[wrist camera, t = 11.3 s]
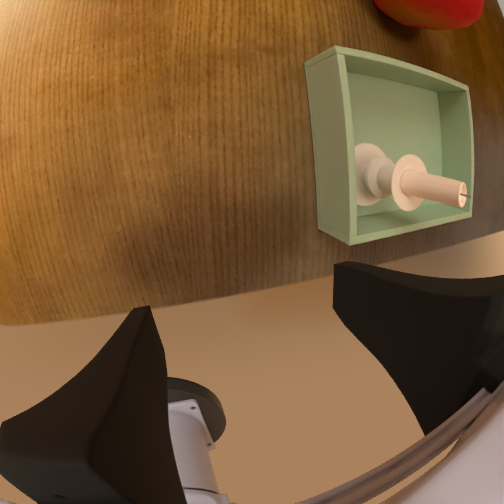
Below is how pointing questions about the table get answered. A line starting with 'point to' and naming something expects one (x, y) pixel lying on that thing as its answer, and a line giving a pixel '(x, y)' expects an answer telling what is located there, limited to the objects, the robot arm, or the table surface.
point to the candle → (401, 180)
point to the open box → (384, 138)
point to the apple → (433, 12)
